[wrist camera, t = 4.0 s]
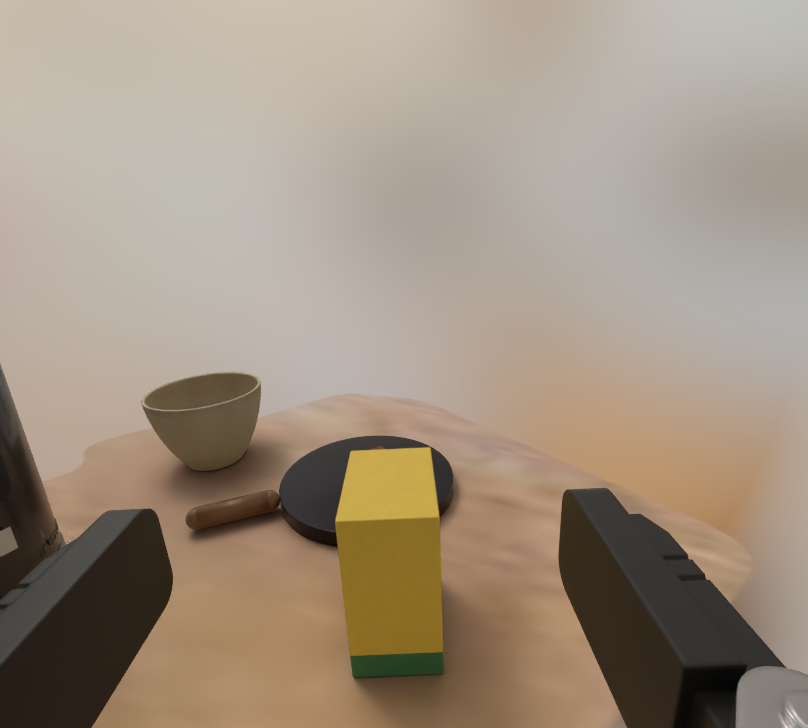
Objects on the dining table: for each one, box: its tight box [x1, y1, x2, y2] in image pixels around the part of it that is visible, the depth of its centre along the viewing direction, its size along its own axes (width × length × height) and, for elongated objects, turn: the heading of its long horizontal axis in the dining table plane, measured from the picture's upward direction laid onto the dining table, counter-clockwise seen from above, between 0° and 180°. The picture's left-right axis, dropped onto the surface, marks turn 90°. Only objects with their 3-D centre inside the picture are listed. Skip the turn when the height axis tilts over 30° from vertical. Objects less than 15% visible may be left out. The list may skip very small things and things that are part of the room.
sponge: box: [335, 447, 444, 677], centre depth 23 cm, size 4×6×9 cm
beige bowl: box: [141, 372, 261, 471], centre depth 41 cm, size 10×10×7 cm
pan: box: [186, 436, 453, 546], centre depth 35 cm, size 21×14×2 cm
